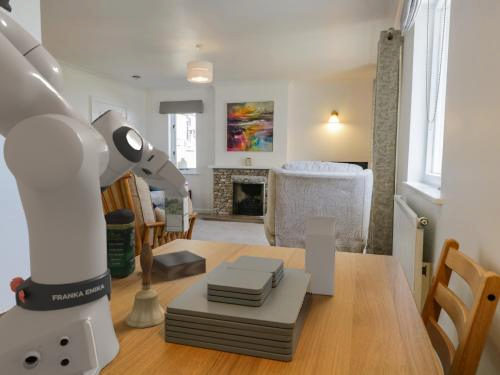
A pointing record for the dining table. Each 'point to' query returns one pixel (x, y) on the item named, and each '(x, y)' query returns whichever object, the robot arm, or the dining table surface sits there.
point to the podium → (178, 265)
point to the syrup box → (176, 211)
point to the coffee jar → (120, 242)
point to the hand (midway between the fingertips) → (178, 194)
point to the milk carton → (320, 253)
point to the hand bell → (146, 296)
